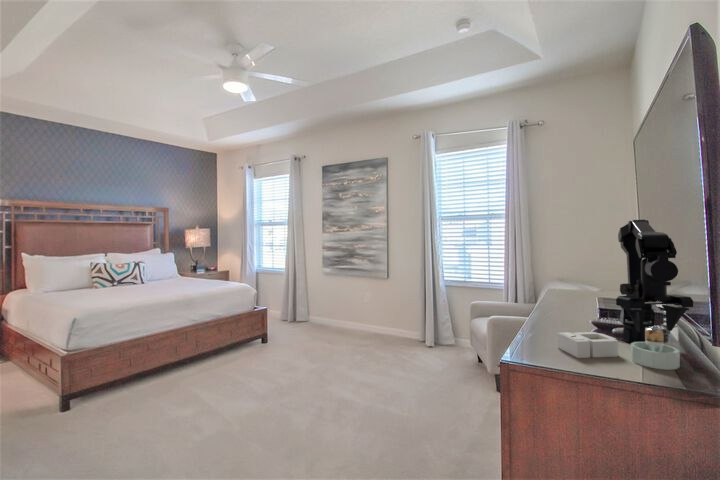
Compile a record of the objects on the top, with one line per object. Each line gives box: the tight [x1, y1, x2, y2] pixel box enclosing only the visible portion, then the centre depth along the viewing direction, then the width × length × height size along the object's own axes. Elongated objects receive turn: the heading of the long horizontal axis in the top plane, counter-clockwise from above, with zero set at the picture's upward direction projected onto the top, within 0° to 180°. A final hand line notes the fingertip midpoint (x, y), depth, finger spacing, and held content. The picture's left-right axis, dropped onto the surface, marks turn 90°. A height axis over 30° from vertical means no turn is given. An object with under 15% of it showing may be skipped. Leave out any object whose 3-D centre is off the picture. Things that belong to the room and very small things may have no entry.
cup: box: [630, 342, 681, 371], centre depth 103 cm, size 11×11×4 cm
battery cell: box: [645, 325, 664, 352], centre depth 103 cm, size 4×4×10 cm
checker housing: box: [556, 331, 619, 359], centre depth 113 cm, size 10×14×5 cm
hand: (654, 331), depth 103 cm, fingers open, 9 cm apart
